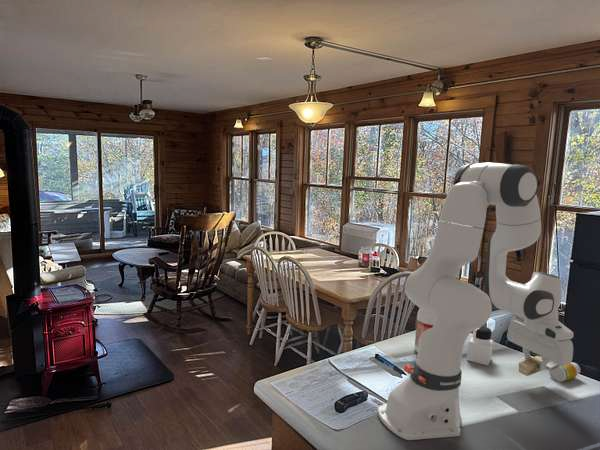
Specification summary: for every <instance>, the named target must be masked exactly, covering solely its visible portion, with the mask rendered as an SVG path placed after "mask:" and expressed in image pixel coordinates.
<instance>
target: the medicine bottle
mask: <svg viewBox="0 0 600 450" xmlns="http://www.w3.org/2000/svg"><path fill="white" fill-rule="evenodd" d="M492 332H493V331H492V329H491V328H489V327H487V326H484V325H483V326H482V327H480V328H478V329H475V330H473V331H472V336H471V337H470V339H469V340H468V346H467V354H466V355H467V356H466V360H467V361H469V362H473V363H475V364H480V365H483V366H489V365H490V362H491V360H492V356H493V346H494V339H492Z"/></svg>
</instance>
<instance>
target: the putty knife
mask: <svg viewBox="0 0 600 450" xmlns="http://www.w3.org/2000/svg"><path fill="white" fill-rule="evenodd" d="M541 358H542V356H540V355H535V356H534V357H532V358H530V359H528V360H525V359H524V360H522V361H520V362H518V372H519V373H521V374H522V375H524V376H526V377H528V376H531V375H533V374H536V373H538V372H541V371H542V370H540V369H538V368H537V364H538V363H541V362H542V361H543V360H542V359H541ZM558 367H561V366H560V365H558V364H556V363H554V362H552V361H549V362H548V363H547V364H546V367H545V370H548V371H549V370H550V371H551V370H553V369H556V368H558Z"/></svg>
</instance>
